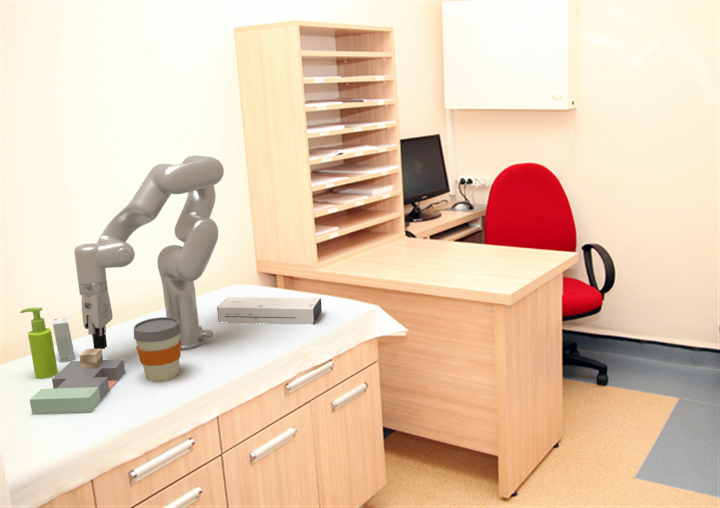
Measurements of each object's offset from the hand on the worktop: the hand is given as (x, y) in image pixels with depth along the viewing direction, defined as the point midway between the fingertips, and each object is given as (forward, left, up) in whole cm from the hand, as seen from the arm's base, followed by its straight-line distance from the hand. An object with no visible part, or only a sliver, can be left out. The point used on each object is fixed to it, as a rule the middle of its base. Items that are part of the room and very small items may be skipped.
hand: (100, 347), depth 190 cm
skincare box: (+15, -8, -6) cm, 18 cm away
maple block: (0, +8, -2) cm, 8 cm away
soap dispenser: (+16, +4, -6) cm, 17 cm away
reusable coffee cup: (-19, +7, -6) cm, 21 cm away
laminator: (-44, -39, -7) cm, 59 cm away
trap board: (0, +16, -6) cm, 17 cm away
